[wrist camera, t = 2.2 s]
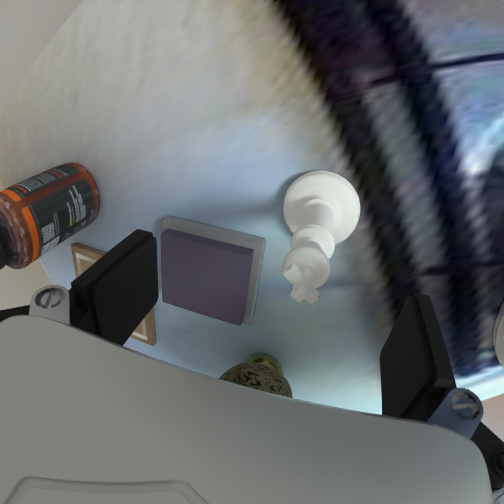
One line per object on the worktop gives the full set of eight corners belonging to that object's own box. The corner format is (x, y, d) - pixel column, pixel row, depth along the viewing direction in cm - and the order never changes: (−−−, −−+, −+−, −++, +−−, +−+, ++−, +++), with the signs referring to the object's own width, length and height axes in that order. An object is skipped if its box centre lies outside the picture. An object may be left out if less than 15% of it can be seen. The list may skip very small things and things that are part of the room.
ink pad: (265, 238, 22) (258, 251, 21) (253, 316, 26) (245, 332, 24) (168, 215, 24) (154, 225, 22) (168, 291, 27) (157, 304, 25)
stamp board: (150, 266, 26) (146, 270, 26) (156, 342, 31) (152, 346, 30) (75, 242, 28) (70, 245, 27) (88, 314, 32) (84, 317, 32)
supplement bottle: (50, 173, 25) (-47, 219, 16) (88, 151, 23) (-26, 196, 13) (72, 230, 27) (-17, 290, 18) (112, 217, 25) (11, 285, 16)
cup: (261, 399, 30) (238, 464, 23) (210, 353, 29) (173, 418, 22) (322, 376, 27) (308, 452, 20) (269, 321, 25) (238, 398, 19)
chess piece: (327, 154, 19) (309, 205, 10) (375, 216, 19) (391, 311, 11) (268, 201, 21) (208, 280, 12) (315, 256, 22) (289, 362, 13)
